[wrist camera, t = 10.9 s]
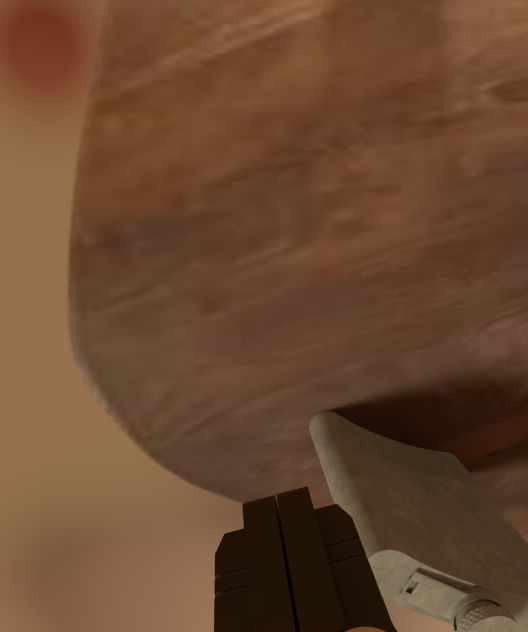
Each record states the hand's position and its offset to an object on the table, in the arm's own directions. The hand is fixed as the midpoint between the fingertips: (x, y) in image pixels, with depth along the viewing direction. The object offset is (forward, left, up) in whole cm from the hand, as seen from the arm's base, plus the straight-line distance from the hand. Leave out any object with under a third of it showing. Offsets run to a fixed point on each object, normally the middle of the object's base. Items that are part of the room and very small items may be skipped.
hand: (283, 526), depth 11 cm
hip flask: (+21, +9, -32) cm, 39 cm away
